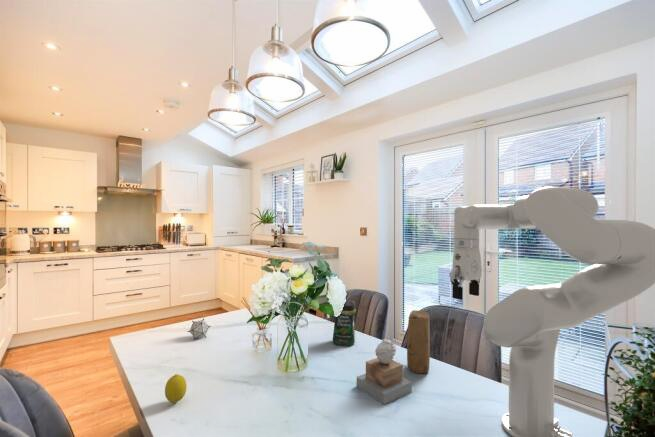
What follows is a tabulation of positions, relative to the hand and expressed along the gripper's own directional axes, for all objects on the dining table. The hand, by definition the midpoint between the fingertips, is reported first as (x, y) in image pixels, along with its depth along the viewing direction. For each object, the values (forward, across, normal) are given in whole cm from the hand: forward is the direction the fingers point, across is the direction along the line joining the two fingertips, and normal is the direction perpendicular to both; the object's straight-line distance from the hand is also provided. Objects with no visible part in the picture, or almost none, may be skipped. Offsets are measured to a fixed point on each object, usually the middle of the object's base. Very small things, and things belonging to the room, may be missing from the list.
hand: (466, 296), depth 101 cm
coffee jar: (+28, -11, +49) cm, 58 cm away
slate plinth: (+28, -24, +13) cm, 39 cm away
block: (+28, -3, +16) cm, 33 cm away
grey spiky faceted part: (+28, -61, +89) cm, 112 cm away
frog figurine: (+20, -24, +13) cm, 34 cm away
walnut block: (+25, -24, +13) cm, 37 cm away
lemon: (+28, -79, +41) cm, 93 cm away
